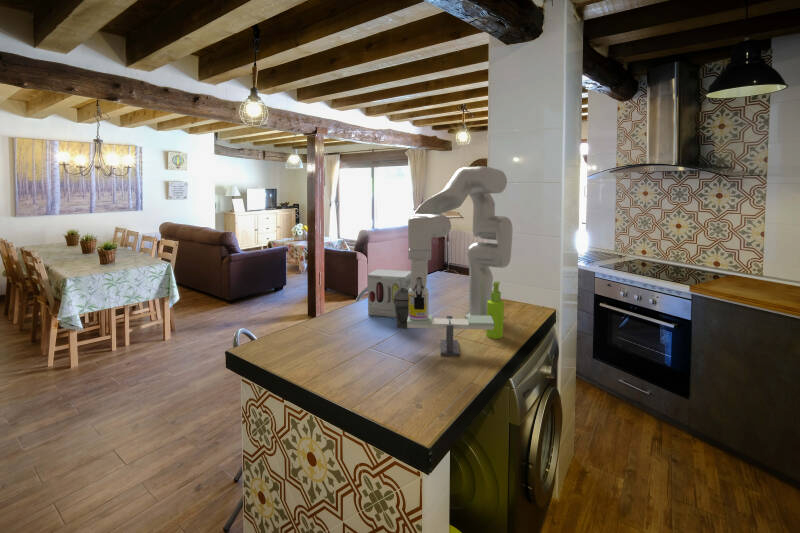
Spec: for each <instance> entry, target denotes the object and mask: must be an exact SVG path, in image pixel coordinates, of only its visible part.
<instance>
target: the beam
mask: <svg viewBox="0 0 800 533" xmlns="http://www.w3.org/2000/svg"><path fill="white" fill-rule="evenodd" d="M447 324H453V330H455V329H456V330H487V329H488V330H493V327H494V322H493V319H492V317H491V316H480V315H467V318H452V319H451V318H448V319H446V317H445V318H443V317H441V318H438V317H437V318H436V317H435V318H433V314H429V315H428V318H427V319H426V320H422V321H416V320H412V319H410V318H409V315H408V319H407V328H406V329H408V328H409V329H411V328H412V329H444V330H446V329H447Z"/></svg>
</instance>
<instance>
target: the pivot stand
mask: <svg viewBox="0 0 800 533" xmlns="http://www.w3.org/2000/svg"><path fill="white" fill-rule="evenodd" d="M448 318H451V319H453V315H446V317H445V319H448ZM445 330H446V331H445V333H446V334H445V336H446V337H445V338H446V339H440V341H439V342H440V346H439V347H440V348H439V349H440V356H441V357H460V348H459V340H458V339H454V329H453V324H447V329H445Z"/></svg>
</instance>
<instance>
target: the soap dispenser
mask: <svg viewBox="0 0 800 533" xmlns="http://www.w3.org/2000/svg"><path fill="white" fill-rule="evenodd" d="M500 284H501V281H493V285H492V287H493V290H492V292H491V300H488V301H487V316H491V317H492V319H493V322H494V327H493V330H488V329H485V331H486V337H487V338H489V339H493V340H494V339H495V340H499V338H500V339H503V337H504V336H503V335H504V311H505V301H503V300H501V298H502V292H501V291H499V286H500Z"/></svg>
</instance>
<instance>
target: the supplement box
mask: <svg viewBox="0 0 800 533" xmlns="http://www.w3.org/2000/svg"><path fill="white" fill-rule="evenodd" d="M399 277H400V280H401V288H406V289H407V290H409V289H410V288H411V270H396V269H381V268H380V269H379V268H377V269H376V270H373V271H372V272H370V273H368V274H367V312H368V313H367V316H377V317H378V316H379V317H387V318H388V317H389V318H396V311H395V304H394V294H395V292H396V291H397V290H398V289H400V282H399Z"/></svg>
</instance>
